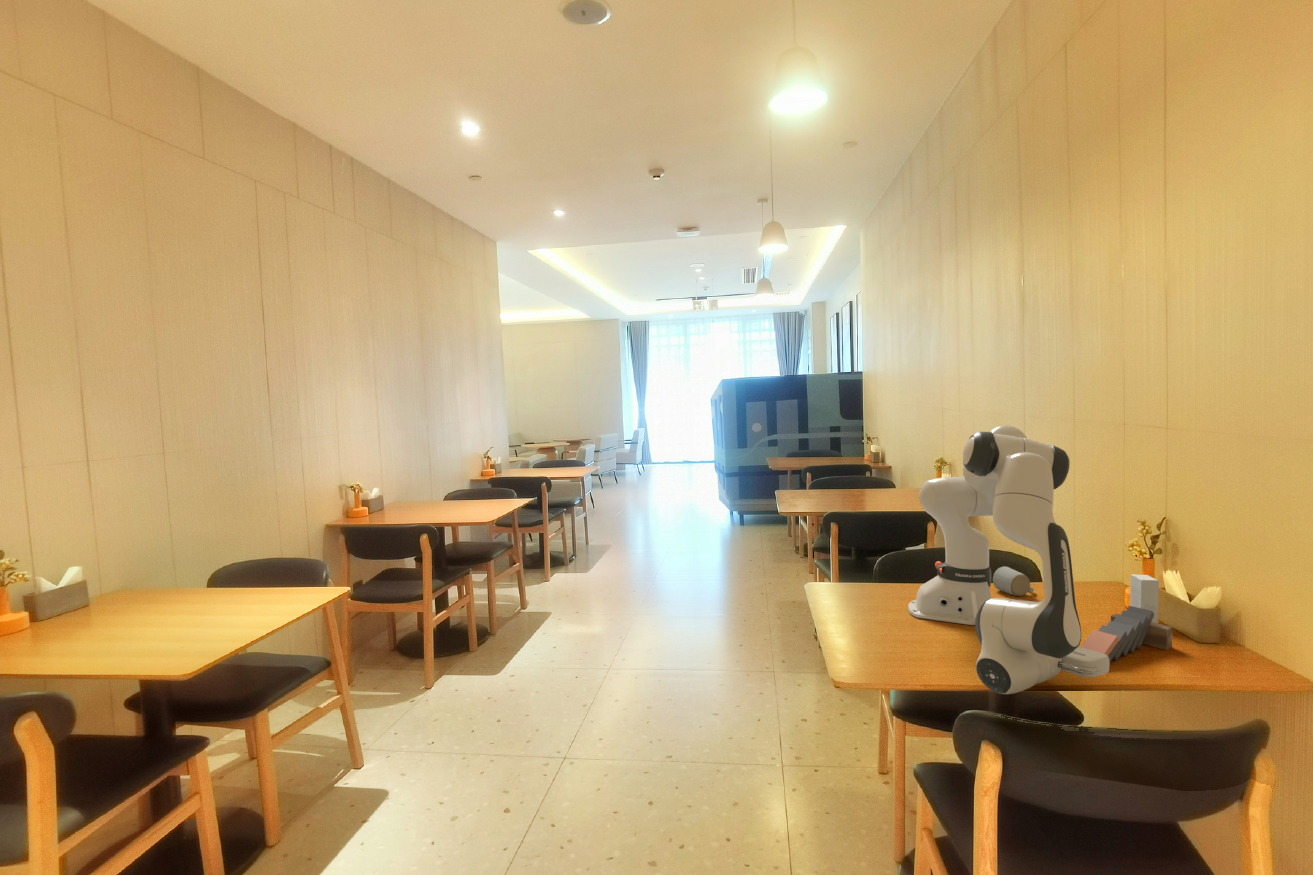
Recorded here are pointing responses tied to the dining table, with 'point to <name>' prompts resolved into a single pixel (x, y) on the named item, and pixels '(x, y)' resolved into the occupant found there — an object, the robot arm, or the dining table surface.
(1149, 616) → the domino
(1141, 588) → the skincare box
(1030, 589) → the ceramic mug
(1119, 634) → the domino
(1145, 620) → the domino
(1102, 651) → the domino
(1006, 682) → the robot arm
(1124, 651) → the domino
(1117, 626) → the domino
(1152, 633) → the end stop
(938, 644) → the dining table surface
